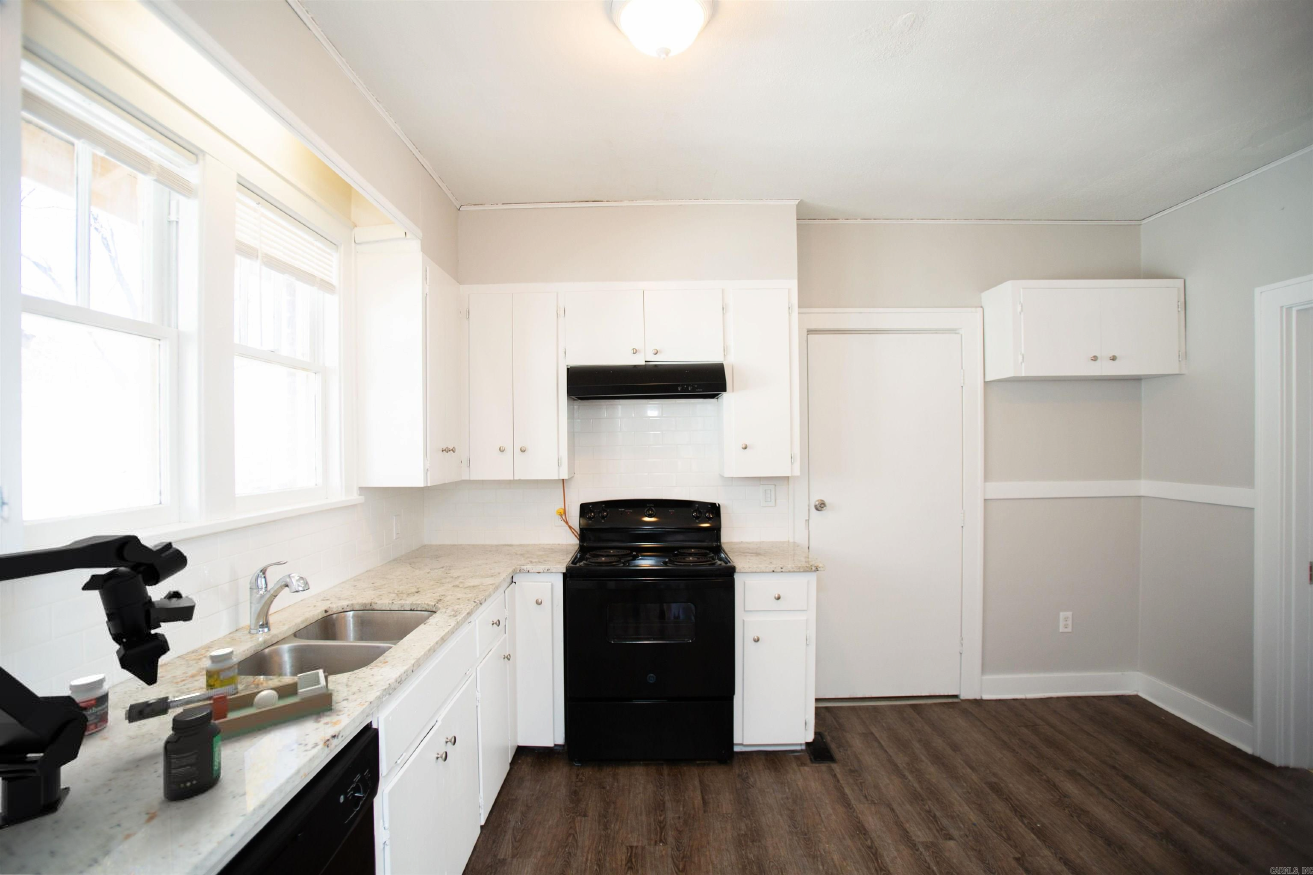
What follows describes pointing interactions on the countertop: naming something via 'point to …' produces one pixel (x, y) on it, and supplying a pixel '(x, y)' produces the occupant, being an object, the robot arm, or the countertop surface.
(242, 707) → the tray
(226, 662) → the supplement bottle
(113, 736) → the countertop surface
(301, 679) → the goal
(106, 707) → the pill bottle
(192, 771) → the supplement bottle
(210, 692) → the rod
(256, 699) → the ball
